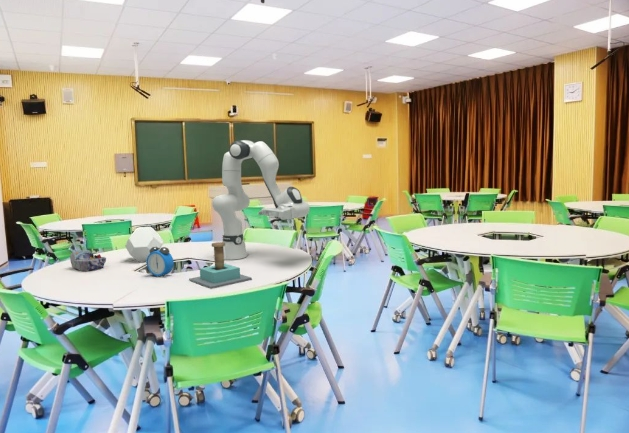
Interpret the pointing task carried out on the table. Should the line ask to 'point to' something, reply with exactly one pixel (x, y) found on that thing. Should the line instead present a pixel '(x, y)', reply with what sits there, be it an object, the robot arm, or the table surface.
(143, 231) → the geometric form
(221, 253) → the pin
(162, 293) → the table surface
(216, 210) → the robot arm
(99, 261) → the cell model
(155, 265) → the alarm clock
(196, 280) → the socket board
